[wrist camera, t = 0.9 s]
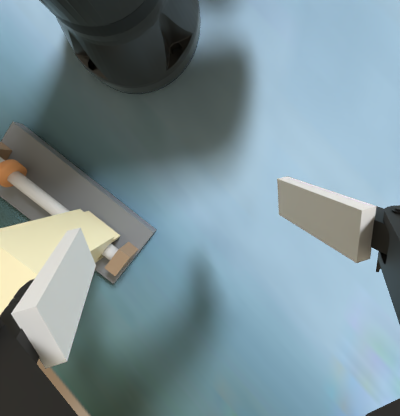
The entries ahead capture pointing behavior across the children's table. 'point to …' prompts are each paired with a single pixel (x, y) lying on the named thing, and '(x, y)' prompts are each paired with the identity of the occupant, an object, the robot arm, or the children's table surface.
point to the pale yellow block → (44, 246)
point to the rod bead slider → (66, 195)
